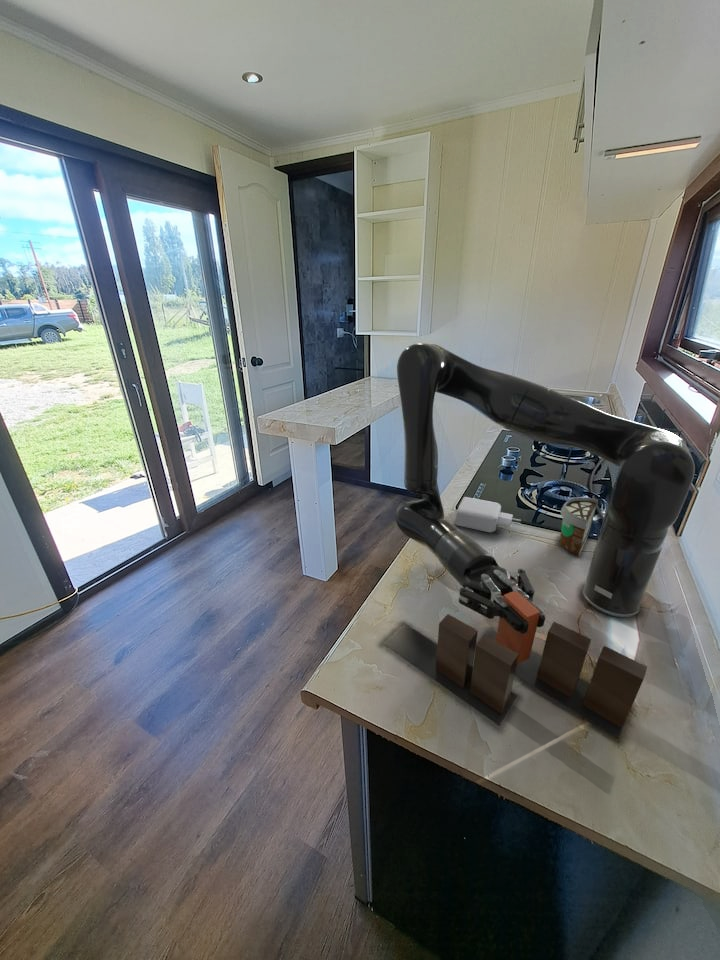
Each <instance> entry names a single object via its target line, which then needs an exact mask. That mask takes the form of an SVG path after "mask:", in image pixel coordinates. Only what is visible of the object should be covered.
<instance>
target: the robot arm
mask: <svg viewBox="0 0 720 960" xmlns="http://www.w3.org/2000/svg"><path fill="white" fill-rule="evenodd" d="M396 376H397V377H396V378H397V385H398V391H399V398H400V403H401V405H400V406H401V413H402V422H403V433H404V435H403V436H404V437H403V438H404V467H403V468H404V471H403V472H404V476H403V477H404V479H403V483H404V488H405V490H407V491H408V492H410V493H413V494H419V495H422V499H419V500H412V501H406V502H404V503H401V504H400V505H399V506H398V507H397V508H396V510H395V513H394V514H395V515H394V519H395V523H396V525H397V527H398V529H399V530H400V532H401V533H402V534H404V536H406V537H407V538H408V539H411V540H412V541H414V542H416V543H418V544H420V545H421V546H424V547H426V548H427V549H428V550H429V551H430V552H431V553H432V554H433V556H435V557H436V558H437V559H438V561H439V563H440V564H441V565H442V567H443V568H444V569H445V570H446V571H447V573H449V574H450V575H451V576H452V577H453V578H454V579H455V580H456V582H457V583H458V584H459V585H460V586H461V587H460V588H459V594H458V603H459V604H460V605H462V606H464V607H466V608H467V609H470V610H472V611H474V612H476V613H478V614H479V615H481V616H483V617H485V618H486V619H489V620H493V619H494V618H495V617H499V619H500V618H504V619H505V620H506V621H507V622H508V623H509V625H510V626H512V628H513V629H514V630H516V631H519V632H520V633H521V634H524V633H527V631H528V626H529V624H528V622H527V621H526V620H525V619H524V618H523V617H522V616H521V615H520V614H519V613H518V612H517V611H516V610H515V609H514V608H513V607H512V606H509V607H508V603H507V602H506V600H505V599H504V598H503V596H504V595H505V594H508V593H510V592H513V591H518V592H519V593H520V594H521V595H522V596H523V597H524V598H525V599H526V600H528V601H529V602H530V603H531V604H532V605H533V606H534V607H535V608H536V609H538V610H539V611H540V616H539V620H538V624H537V628H541V627H544V625H545V621H546V616H545V615H546V614H545V613H544V612H543V610H541V609H540V608H539V607H538V606H537V605H536V604H535V603H533V599H534V596H535V592H536V590H535V589H534V586H533V585H532V582H531V579H530V578H529V576H528V574H527V572H526V570H525V569H524V568H518V569H517V572H510V571H509V570H508V569H506V568H503V567H502V566H500V565H499V564H498V562H497V561H496V558H495V557H494V556H493V555H492V554H490V553H489V552H488V550H486V549H484V547H482V546H481V545H480V544H479V543H478V542H476V541H475V540H474V539H473V538H472V537H470V536H469V535H468V534H466V533H464V532H463V531H462V530H461V529H459V528H458V527H457V525H455V524H454V523H452V522H451V521H449V520H448V519H445V511H444V505H443V503H442V499H441V495H440V489H439V484H438V477H439V476H438V473H439V450H438V442H437V438H436V437H437V436H436V432H435V426H434V402H435V396H436V393H438V394H442V395H444V396H447V397H450V398H453V399H455V400H458V401H460V402H464V403H465V404H467V405H469V406H471V407H472V408H473V409H475V410H476V411H477V412H478V413H480V414H481V415H483V416H484V417H485V418H487V419H488V420H489V421H491V422H493V423H494V424H496V425H498V426H500V427H501V428H503V429H506V430H508V431H509V432H512V433H515V434H517V435H519V436H521V437H524V438H526V439H529V440H531V441H535V442H539V443H543V444H547V445H553V446H559V447H566V448H573V449H578V450H582V451H585V452H588V453H590V454H592V455H594V456H597V457H599V458H600V459H599V461H598V462H597V464H596V465H595V467H594V468H593V470H592V472H591V473H590V477H589V482H588V487H589V493H590V492H592V493H593V494H594V491H593V480H594V476H595V474H596V472H597V470H598V468H599V467H600V465H601V464H602V462H603V461H604V460H605V461H607V462H609V463H611V464H612V465H615V466H617V467H618V468H619V469H618V473H617V477H616V479H615V483H614V486H613V490H612V493H611V497H610V501H609V502H608V503H607V505H606V508H605V513H604V515H603V513H602V511H601V509H600V507H599V505H598V504H597V507H596V510H595V511H596V512H597V514H598V516H599V518H600V519H601V522H602V523H601V526H600V530H599V534H598V537H597V541H596V545H595V548H594V551H593V555H592V558H591V562H590V565H589V568H588V572H587V576H586V578H585V582H584V585H583V586H582V591H581V592H582V593H581V594H582V596H583V598H584V600H585V601H586V603H588V604H589V605H590V606H591V607H592V608H594V609H595V610H598V611H599V612H601V613H604V614H606V615H609V616H611V617H616V618H631V617H635V616H636V615H637V614H638V613H639V612H640V610H641V604H642V602H643V599H644V598H645V594H646V593H647V592H646V591H647V589H648V586H649V583H650V581H651V578H652V575H653V573H654V571H655V568H656V565H657V562H658V560H659V557H660V555H661V553H662V549H663V546H664V544H665V541H666V538H667V536H668V533H669V530H670V528H671V527H672V526H673V525H674V524H675V522H676V521H677V520H678V517H679V515H680V514H681V511H682V509H683V506H684V504H685V501H686V499H687V496H688V494H689V491H690V489H691V487H692V484H693V481H694V477H695V473H696V465H695V462H694V461H695V460H694V459H693V456H692V454H691V451H690V449H689V447H688V445H687V443H686V442H685V441H684V440H683V438H681V437H679V436H678V435H677V434H674V433H673V432H670V431H668V430H665V429H661V428H657V427H654V426H651V425H647V424H643V423H639V422H636V421H632V420H628V419H625V418H622V417H618V416H615V415H611V414H609V413H606V412H604V411H602V410H599V409H597V408H595V407H593V406H591V405H589V404H587V403H585V402H582V401H579V400H577V399H575V398H572V397H571V396H568V395H565V394H563V393H561V392H558V391H556V390H553V389H551V388H548V387H547V386H544V385H540V384H538V383H535V382H533V381H530V380H528V379H524V378H521V377H518V376H515V375H511V374H508V373H504V372H501V371H497V370H493V369H489V368H486V367H483V366H480V365H477V364H475V363H473V362H471V361H468V360H467V359H465V358H463V357H462V356H459V355H457V354H455V353H453V352H451V351H450V350H447V349H446V348H444V347H442V346H441V345H438V344H434V343H424V342H423V343H422V342H419V343H413V344H411V345H408V346H407V347H406V348H405V349H404V350H403V351H401V353H400V355H399V357H398V359H397V364H396ZM592 498H594V499H596V498H595V494H594V495H593V496H592Z"/></svg>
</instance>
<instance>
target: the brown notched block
mask: <svg viewBox="0 0 720 960" xmlns="http://www.w3.org/2000/svg"><path fill="white" fill-rule="evenodd" d="M486 636H488V637H490V638H491V639H493V640H495V641H496V636H497V631H494V630H493V629H491V630H490V631H489V632H488V634H487V635H486ZM591 642H592V639H591V638H590V637H588V636H585V635H583V634H582V633H580V632H577V631H575V630H573V629H571V628H569V627H568V626H565V625H563V624H561V623H559V622H556V621H553V623H552V624H551V626H550V628H549V629H548V631H547V634H546V638H545V641H544V646H543V650H542V655H541V656H540V655H538V654H536V653H534V652H533V651H531V653H530V658H529V659H528V660H525V661H523V662H521V663H518V664H517V665H516V670H515V674H514V677H516V678H518V679H520V680H522V681H523V682H524V683H526V684H528V685H530V686H531V687H532V688H535V689H536V690H538V691H539V692H542V694H544V695H546V696H548V697H549V698H551V699H553V700H554V701H556V702H557V703H559V704H561V705H563V706H564V707H566V708H567V709H569V710H571V711H572V712H574V713H576V714H577V715H579V716H581V717H582V718H584V719H586V720H587V721H588V723H590V724H592V725H593V726H595V727H596V728H598V729H600V730H601V731H604V732H605V733H606V734H608V735H610V736H611V737H613V738H615V740H617V741H618V740H620V737H621V734H622V731H623V728H624V726H625V724H626V722H627V720H628V719H627V718H628V717H629V714H630V712H631V709H632V707H633V705H634V703H635V700H636V698H637V695H638V694H639V691H640V690H641V689H640V688H641V686H642V684H643V681H644V679H645V676H646V673H647V670H648V666H647V665H645V664H643V663H642V662H639V661H637V660H635V659H632V658H630V657H629V656H626V655H624V654H622V653H620V652H618V651H616V650H614V649H612V648H610V647H609V646H606V645H603V647H602V649H601V651H600V653H599V655H598V657H597V661H596V662H595V667H594V669H593V673H592V675H591V678H590V681H589V682H586V681H585V680H583V679H581V674H582V670H583V668H584V664H585V662H586V660H587V659H586V658H587V655H588V652H589V649H590V646H591Z"/></svg>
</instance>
